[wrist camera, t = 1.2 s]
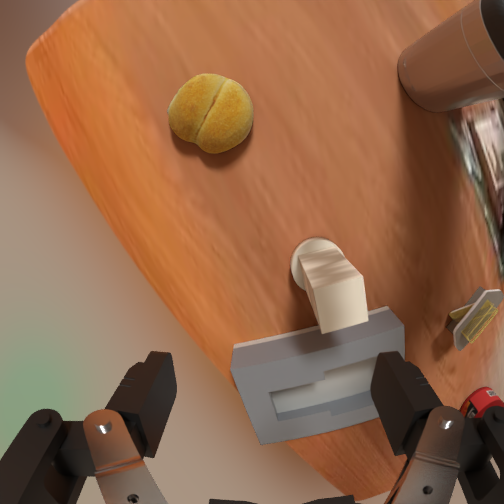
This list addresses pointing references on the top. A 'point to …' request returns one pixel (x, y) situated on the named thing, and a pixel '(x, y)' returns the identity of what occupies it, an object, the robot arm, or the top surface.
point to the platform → (474, 316)
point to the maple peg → (329, 284)
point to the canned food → (480, 402)
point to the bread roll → (211, 113)
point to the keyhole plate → (313, 377)
